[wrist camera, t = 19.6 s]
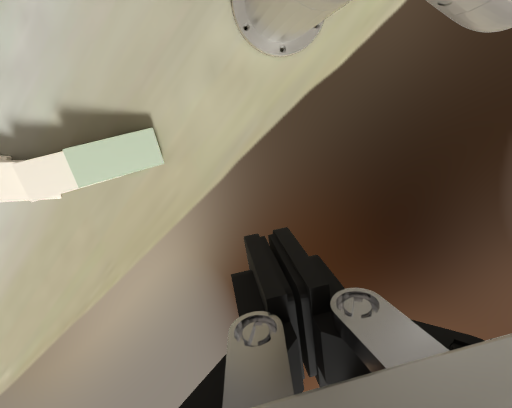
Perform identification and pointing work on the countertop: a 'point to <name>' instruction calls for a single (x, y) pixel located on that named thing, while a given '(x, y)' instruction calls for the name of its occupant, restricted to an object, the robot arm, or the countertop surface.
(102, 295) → the countertop surface
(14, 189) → the domino
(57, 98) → the countertop surface
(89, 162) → the domino
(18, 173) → the domino
